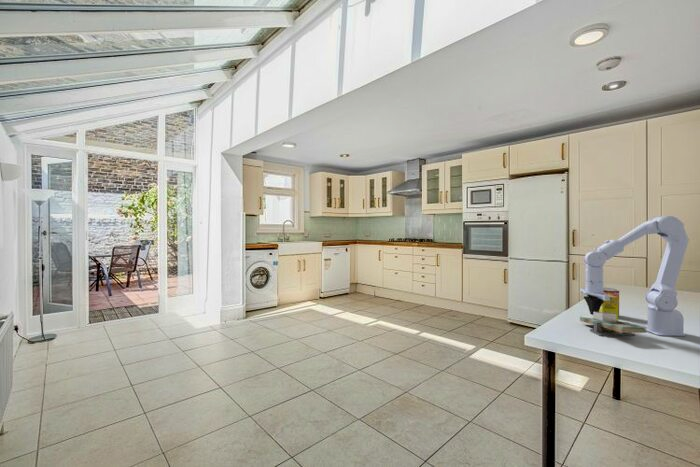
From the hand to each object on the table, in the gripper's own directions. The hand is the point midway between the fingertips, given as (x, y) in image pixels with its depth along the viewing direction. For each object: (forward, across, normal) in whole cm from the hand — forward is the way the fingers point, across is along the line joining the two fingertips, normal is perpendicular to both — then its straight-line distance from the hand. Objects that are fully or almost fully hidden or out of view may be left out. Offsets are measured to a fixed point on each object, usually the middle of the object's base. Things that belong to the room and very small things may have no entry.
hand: (594, 314), depth 129 cm
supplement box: (+5, -7, +10) cm, 13 cm away
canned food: (+5, -16, +17) cm, 24 cm away
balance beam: (+2, +9, 0) cm, 9 cm away
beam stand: (+5, +10, 0) cm, 11 cm away
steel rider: (+1, +6, 0) cm, 6 cm away
